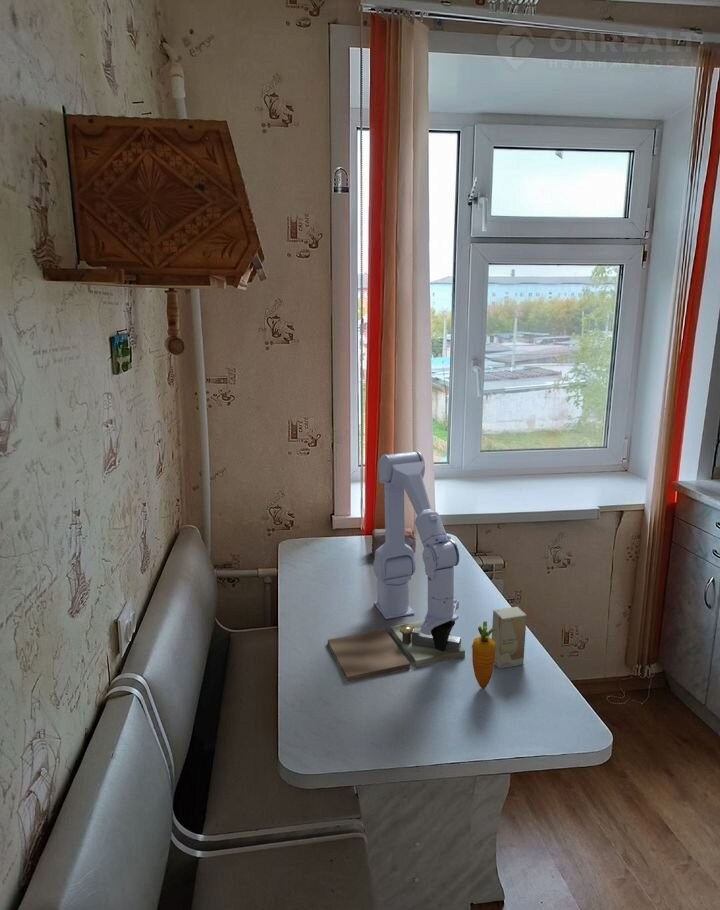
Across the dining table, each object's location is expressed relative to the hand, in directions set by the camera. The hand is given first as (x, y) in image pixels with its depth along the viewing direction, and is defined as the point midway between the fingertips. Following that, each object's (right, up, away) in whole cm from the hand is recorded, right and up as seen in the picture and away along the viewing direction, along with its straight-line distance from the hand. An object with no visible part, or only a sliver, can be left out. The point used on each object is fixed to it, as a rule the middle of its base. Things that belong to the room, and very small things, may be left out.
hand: (440, 649), depth 141 cm
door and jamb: (-10, -2, +5) cm, 11 cm away
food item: (-7, +12, +59) cm, 61 cm away
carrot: (+8, -5, -10) cm, 14 cm away
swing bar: (-2, 0, +3) cm, 4 cm away
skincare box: (+15, -3, -1) cm, 15 cm away
